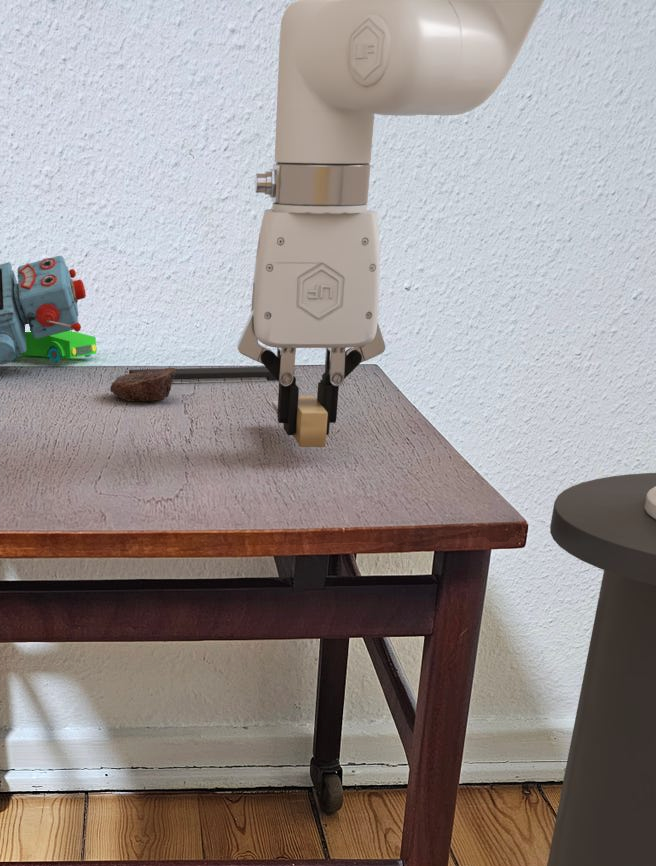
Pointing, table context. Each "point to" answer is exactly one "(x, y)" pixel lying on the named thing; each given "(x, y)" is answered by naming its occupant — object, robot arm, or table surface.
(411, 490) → the table surface
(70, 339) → the toy car
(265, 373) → the dark grey flat bar
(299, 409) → the knife
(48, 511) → the table surface
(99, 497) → the table surface
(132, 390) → the stone
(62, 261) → the toy robot
